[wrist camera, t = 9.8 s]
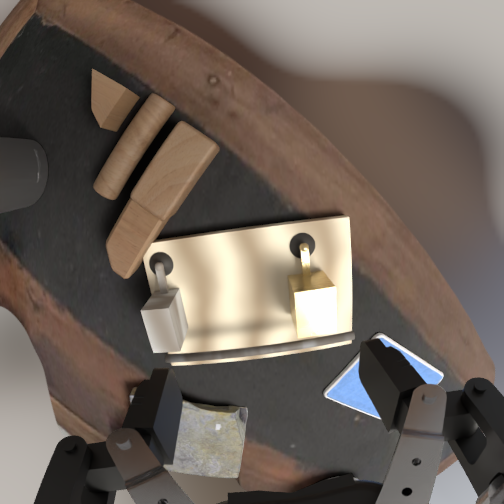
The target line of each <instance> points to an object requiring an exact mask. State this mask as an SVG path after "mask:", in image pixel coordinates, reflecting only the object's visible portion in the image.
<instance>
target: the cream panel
mask: <svg viewBox="0 0 504 504" xmlns="http://www.w3.org/2000/svg"><path fill="white" fill-rule="evenodd" d="M302 243H306V244H308V246H309V262H310V272H315V271H322V270H323V271H324V272H325V274H326V275H327V276H328V278H329V279H330V280H331V281H332V283H333V284H334V285H335V287H336V332H333V333H327V334H322V335H316V336H310V337H304V338H298V337H297V334H296V331H295V327H294V324H293V321H292V318H291V311H290V300H289V289H288V279H287V275H294V274H301V273H302V267H301V255H300V249H299V246H300V245H301V244H302ZM143 260H144V265H145V269H146V273H147V278H148V282H149V286H150V290H151V294H152V295H151V297H150V298H149V300H148V301H147V302H146V304H145V305H144V307H143V308H142V310H141V314H142V317H143V320H144V324H145V327H146V330H147V334H148V337H149V340H150V343H151V346H152V349H153V352H154V353H161V352H168V354H166V355H165V361H166V363H171V364H172V366H177V365H194V364H208V363H220V362H231V361H240V360H250V359H258V358H266V357H274V356H281V355H288V354H294V353H301V352H307V351H313V350H319V349H324V348H330V347H335V346H340V345H345V344H350V343H351V340H354V339H355V334H354V331H352V263H351V239H350V222H349V217H348V216H346V215H341V216H332V217H324V218H315V219H307V220H299V221H290V222H282V223H275V224H267V225H259V226H251V227H244V228H236V229H229V230H222V231H215V232H208V233H201V234H194V235H187V236H180V237H173V238H167V239H160V240H155V241H154V242H153V243H152V244H151V246H150V247H149V249H148V250H147V252H146V254H145V255H144V257H143Z"/></svg>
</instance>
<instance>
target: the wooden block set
mask: <svg viewBox="0 0 504 504" xmlns="http://www.w3.org/2000/svg"><path fill="white" fill-rule="evenodd" d="M139 98H140V97H139V96H137V95H136V94H134V93H133V92H131V91H130V90H128V89H127V88H125V87H123V86H122V85H120V84H118V83H117V82H115V81H113V80H112V79H110V78H108V77H106V76H105V75H103V74H101V73H99V72H97V71H96V70H94V69H92V95H91V109H92V111H93V113H94V115H95V117H96V119H97V121H98V123H99V125H100V127H101V128H104V129H108V130H111V131H115V132H117V130H118V129H119V127H120V126H121V124H122V123H123V121H124V120H125V118H126V117H127V115H128V114H129V112H130V111H131V109H132V108H133V107H134V105H135V104H136V102H137V101H138V99H139ZM174 110H175V107H174V106H173V105H172V104H171V103H169V102H168V101H166V100H165V99H163V98H162V97H160V96H158V95H157V94H154V93H152V94H150V96H149V97H148V98H147V100H146V101H145V103H144V104H143V105H142V107H141V108H140V110H139V111H138V112H137V114H136V115H135V117H134V118H133V120H132V121H131V123H130V124H129V126H128V127H127V129H126V130H125V132H124V133H123V135H122V136H121V138H120V140H119V141H118V143H117V144H116V146H115V148H114V149H113V151H112V153H111V154H110V156H109V158H108V159H107V161H106V163H105V164H104V166H103V168H102V170H101V171H100V173H99V175H98V177H97V179H96V180H95V182H94V184H93V188H94V189H95V191H96V192H98V193H99V194H100V195H102V196H103V197H105V198H108V199H111V200H115V199H117V197H118V196H119V194H120V192H121V190H122V189H123V187H124V185H125V184H126V182H127V180H128V179H129V177H130V175H131V174H132V172H133V171H134V169H135V167H136V166H137V164H138V163H139V161H140V159H141V158H142V156H143V155H144V153H145V152H146V150H147V149H148V147H149V146H150V144H151V143H152V141H153V140H154V138H155V137H156V135H157V134H158V133H159V131H160V130H161V128H162V127H163V125H164V124H165V123H166V121H167V120H168V118H169V117H170V116H171V114H172V113H173V112H174ZM219 149H220V148H219V146H218V145H217V144H216V143H215V142H214V141H213V140H211V139H210V138H208V137H207V136H205V135H204V134H202V133H201V132H199V131H198V130H196V129H195V128H193V127H192V126H190V125H189V124H187V123H186V122H184V121H180V122H178V123H177V124H176V126H175V127H174V129H173V130H172V131H171V133H170V134H169V136H168V137H167V138H166V140H165V141H164V143H163V144H162V146H161V147H160V149H159V150H158V152H157V153H156V155H155V156H154V158H153V159H152V161H151V162H150V164H149V165H148V167H147V168H146V170H145V171H144V173H143V175H142V176H141V178H140V179H139V181H138V183H137V184H136V186H135V187H134V189H133V191H132V192H131V196H130V197H131V198H130V199H129V201H128V202H127V204H126V206H125V208H124V209H123V211H122V213H121V215H120V216H119V218H118V220H117V222H116V224H115V225H114V227H113V229H112V231H111V233H110V235H109V236H108V238H107V240H106V249H107V253H108V257H109V261H110V265H111V268H112V269H113V271H114V272H116V273H117V274H118V275H120V276H121V277H122V278H124V279H127V278H129V277H130V276H131V275H132V274H133V273H134V272H135V271H136V270H137V269H138V268H139V266H140V265H141V263H142V261H143V257H144V255H145V254H146V252H147V250H148V249H149V247H150V246H151V244H152V243H153V242H154V241H155V240H156V239H157V237H158V235H159V234H160V232H161V231H162V229H163V227H164V226H165V224H166V223H167V221H168V220H169V218H170V217H171V216H173V215H174V214H175V213H176V212H177V210H178V209H179V207H180V206H181V204H182V203H183V201H184V200H185V198H186V197H187V195H188V194H189V192H190V191H191V190H192V188H193V187H194V185H195V184H196V182H197V181H198V180H199V178H200V177H201V175H202V174H203V172H204V171H205V170H206V168H207V167H208V165H209V164H210V163H211V161H212V160H213V159H214V157H215V156H216V154H217V153H218V152H219Z"/></svg>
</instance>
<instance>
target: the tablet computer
mask: <svg viewBox="0 0 504 504" xmlns="http://www.w3.org/2000/svg"><path fill="white" fill-rule="evenodd" d="M375 338H379V339H380V340H381V341H382V342H383V344H384V345H385V346H386V347H389V346H392V347H393V348H395V349H397V350H399V351H400V352H401V353H402V354H403V355H404V356H405V358H406V359H407V360H408V361H409V362H410V365H412V366H413V367H414V368H415V370H416V371H417V372H418V373H419V375H420V376H421V377H422V378H423V379H424V381H425V382H426V383H427V384H435V385H437V384H438V383H439V382H440V381H441V380H442V379H443V373H442V372H441V371H439V370H438V369H436V368H434V367H433V366H431V365H430V364H428V363H427V362H425V361H424V360H422V359H421V358H419V357H418V356H416V355H415V354H413V353H412V352H410V351H409V350H407V349H406V348H404V347H402V346H401V345H399V344H398V343H396V342H395V341H393V340H392V339H390V338H389V337H387V336H386V335H384V334H383V333H377V334H375V335H374V336H373V337H372V339H375ZM359 357H360V352H359V353H358V354H357V356H356V357H355V358H354V359H353V360H352V361H351V362H350V363H349V364H348V365H347V366H346V368H345V369H344V370H343V371H342V372H341V373H340V374H339V375H338V376H337V377H336V378H335V379H334V380H333V381H332V382H331V383H330V384H329V386H328V387H327V388H326V389H325V390H324V392H323V394H324V396H325V397H326V398H329V399H331V400H333V401H336V402H338V403H341V404H343V405H346V406H348V407H350V408H353V409H355V410H358V411H361V412H363V413H366V414H368V415H371V416H374V417H376V418H379V419H381V418H380V416H379V414H378V412H377V410H376V409H375V407H374V405H373V403H372V401H371V400H370V398H369V396H368V394H367V392H366V391H365V389H364V387H363V385H362V384H361V381H360V378H359V372H358V369H359Z"/></svg>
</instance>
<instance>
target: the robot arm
mask: <svg viewBox="0 0 504 504" xmlns="http://www.w3.org/2000/svg"><path fill="white" fill-rule="evenodd" d="M47 178H48V162H47V157H46V154H45V151H44V149H43V148H42V146H41V145H40V144H39V143H38V142H36V141H34V140H30V139H19V138H6V137H0V213H4V212H8V211H12V210H16V209H20V208H25V207H28V206H31V205H33V204H34V203H36V202H37V200H38V199H39V198H40V197H41V195H42V193H43V191H44V189H45V186H46V182H47ZM358 372H359V378H360V381H361V384H362V385H363V387H364V389H365V391H366V392H367V394H368V396H369V398H370V400H371V401H372V403H373V405H374V407H375V409H376V410H377V412H378V414H379V416H380V418H381V420H382V421H383V423H384V425H385V427H386V429H387V431H388V433H391V432H394V431H397V430H398V431H399V433H400V437H399V440H398V443H397V446H396V449H395V451H394V454H393V457H392V460H391V463H390V465H389V468H388V470H387V473H386V475H385V478H384V480H383V483H379V482H374V481H368V480H354V478H353V475H352V473H351V474H347V475H343V476H339V477H335V478H331V479H327V480H322V481H320V482H318V483H315V484H313V485H311V486H308V487H306V488H303V489H301V490H298V491H296V492H292V493H285V492H269V491H249V492H235V493H228V500H227V501H223V502H221V503H218V504H429V501H430V497H431V494H432V490H433V487H434V483H435V479H436V475H437V471H438V467H439V462H440V458H441V453H442V448H443V442H445V441H448V443H449V445H450V446H451V448H452V450H453V452H454V453H455V455H456V457H457V459H458V460H459V462H460V464H461V466H462V467H463V469H464V471H465V473H466V475H467V476H468V478H469V480H470V482H471V484H472V486H473V488H474V489H475V491H476V493H477V495H478V499H477V501H476V504H504V397H503V395H502V394H501V393H500V392H499V391H498V390H497V388H496V387H495V386H494V385H493V384H492V383H491V382H490V381H489V380H487V379H484V378H472V379H470V380H468V381H467V382H466V384H465V386H464V389H463V390H458V391H451V392H445V390H444V389H443V388H441V387H440V386H438V385H435V384H427V383H426V382H425V381H424V379H423V378H422V377H421V376H420V375H419V373H418V372H417V371H416V370H415V368H414V367H413V366H412V365H410V362H409V361H408V360H407V359H406V358H405V356H404V355H403V354H402V353H401V352H400V351H399V350H397V349H395V348H393V347H392V346H389V347H386V346H385V345H384V344H383V342H382V341H381V340H380V339H379V338H375V339H371V340H367V341H362V342H361V345H360V357H359V369H358ZM182 408H183V400H182V394H181V391H180V389H179V386H178V383H177V380H176V377H175V373H174V371H173V369H172V368H155V369H154V370H153V373H152V375H151V378H150V380H144V381H143V382H142V383H141V384H140V385H139V386H138V387H137V389H136V391H135V394H134V398H133V399H132V402H131V405H130V407H129V409H128V412H127V415H126V417H125V420H124V423H123V426H122V428H121V429H118V430H116V431H114V432H112V433H111V434H110V435H109V436H108V438H107V440H106V441H105V442H99V443H92V444H87V443H86V442H85V440H84V439H83V438H81V437H79V436H68V437H65V438H63V439H62V440H61V441H60V442H59V443H58V444H57V446H56V448H55V451H54V454H53V456H52V458H51V460H50V463H49V465H48V468H47V470H46V473H45V475H44V478H43V480H42V483H41V486H40V488H39V491H38V493H37V496H36V499H35V502H34V504H114V500H115V495H116V490H123V489H127V490H128V492H129V494H130V495H131V497H132V499H133V500H134V502H135V503H136V504H194V503H193V502H192V500H191V499H190V498H189V497H188V496H187V494H186V493H185V492H184V491H183V490H182V489H181V487H180V486H179V485H178V484H177V483H176V481H175V480H174V479H173V478H172V476H171V475H170V474H169V472H168V471H167V470H166V469H165V468H164V467H163V466H164V465H173V461H174V455H175V449H176V442H177V437H178V431H179V425H180V419H181V414H182ZM478 426H479V427H480V428H479V427H478ZM480 429H481V430H482V431H481V430H480ZM482 432H483V433H484V434H485V436H486V437H485V436H484V434H483V433H482Z"/></svg>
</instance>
